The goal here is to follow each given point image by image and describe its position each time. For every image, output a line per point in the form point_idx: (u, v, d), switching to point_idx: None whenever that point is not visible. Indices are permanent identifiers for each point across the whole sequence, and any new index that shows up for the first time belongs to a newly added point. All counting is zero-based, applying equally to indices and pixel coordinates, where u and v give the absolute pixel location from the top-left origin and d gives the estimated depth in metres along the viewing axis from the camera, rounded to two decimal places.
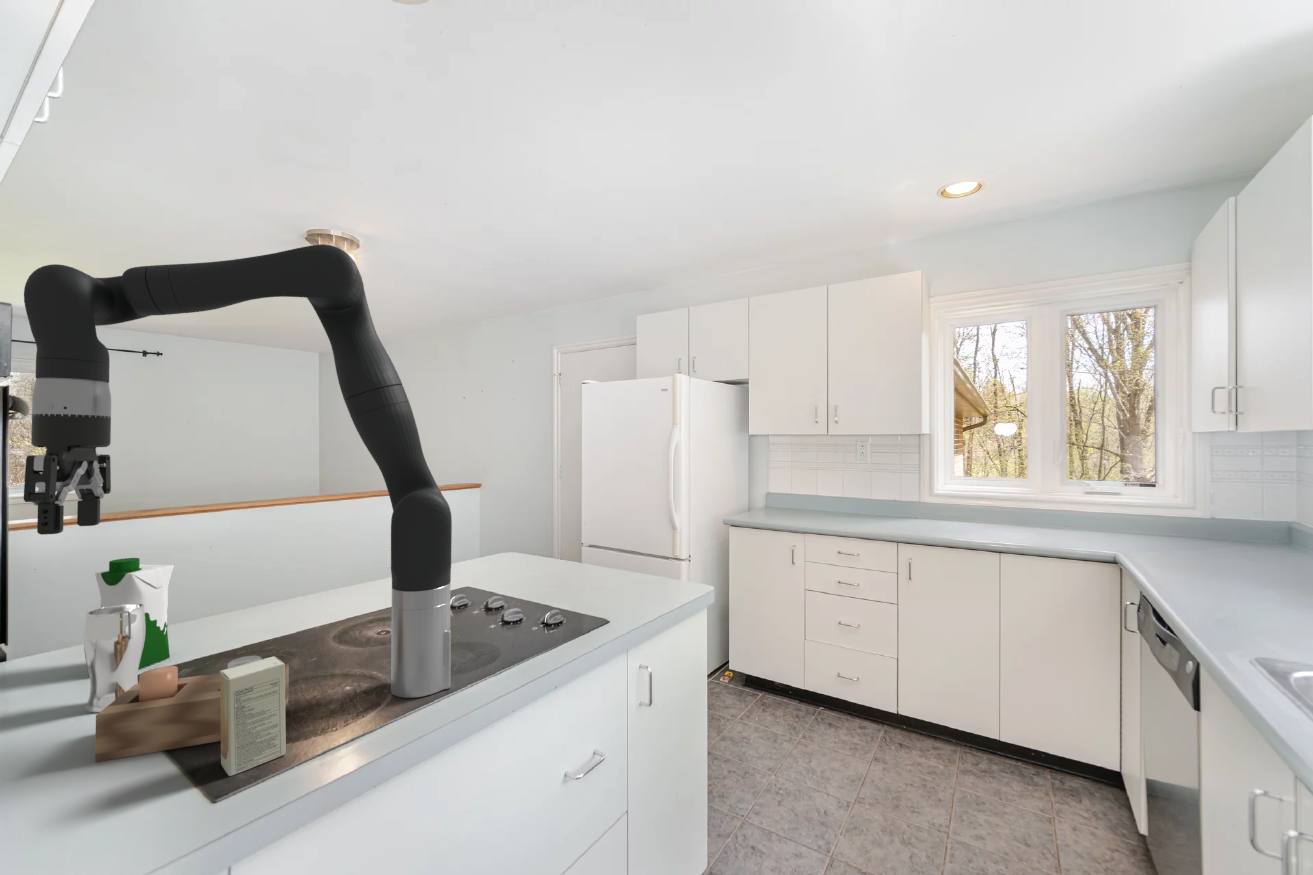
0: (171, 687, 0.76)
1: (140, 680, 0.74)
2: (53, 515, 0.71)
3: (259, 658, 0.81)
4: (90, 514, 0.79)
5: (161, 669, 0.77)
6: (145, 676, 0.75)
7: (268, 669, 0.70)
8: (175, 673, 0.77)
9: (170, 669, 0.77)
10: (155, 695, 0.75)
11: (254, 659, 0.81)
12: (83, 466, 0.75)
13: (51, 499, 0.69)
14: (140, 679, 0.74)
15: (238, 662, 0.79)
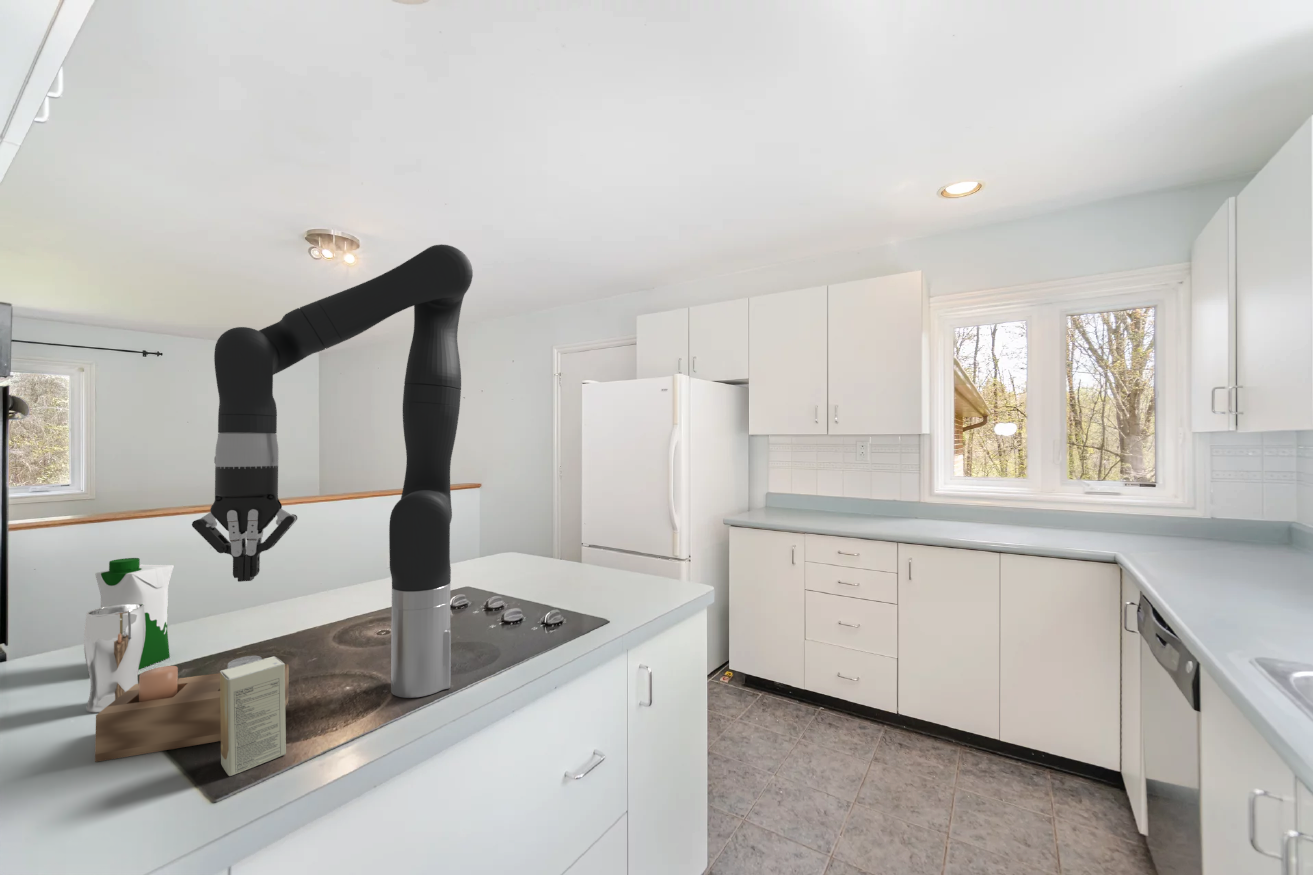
0: (171, 687, 0.76)
1: (140, 680, 0.74)
2: None
3: (259, 658, 0.81)
4: None
5: (161, 669, 0.77)
6: (145, 676, 0.75)
7: (268, 669, 0.70)
8: (175, 673, 0.77)
9: (170, 669, 0.77)
10: (155, 695, 0.75)
11: (254, 659, 0.81)
12: None
13: None
14: (140, 679, 0.74)
15: (238, 662, 0.79)
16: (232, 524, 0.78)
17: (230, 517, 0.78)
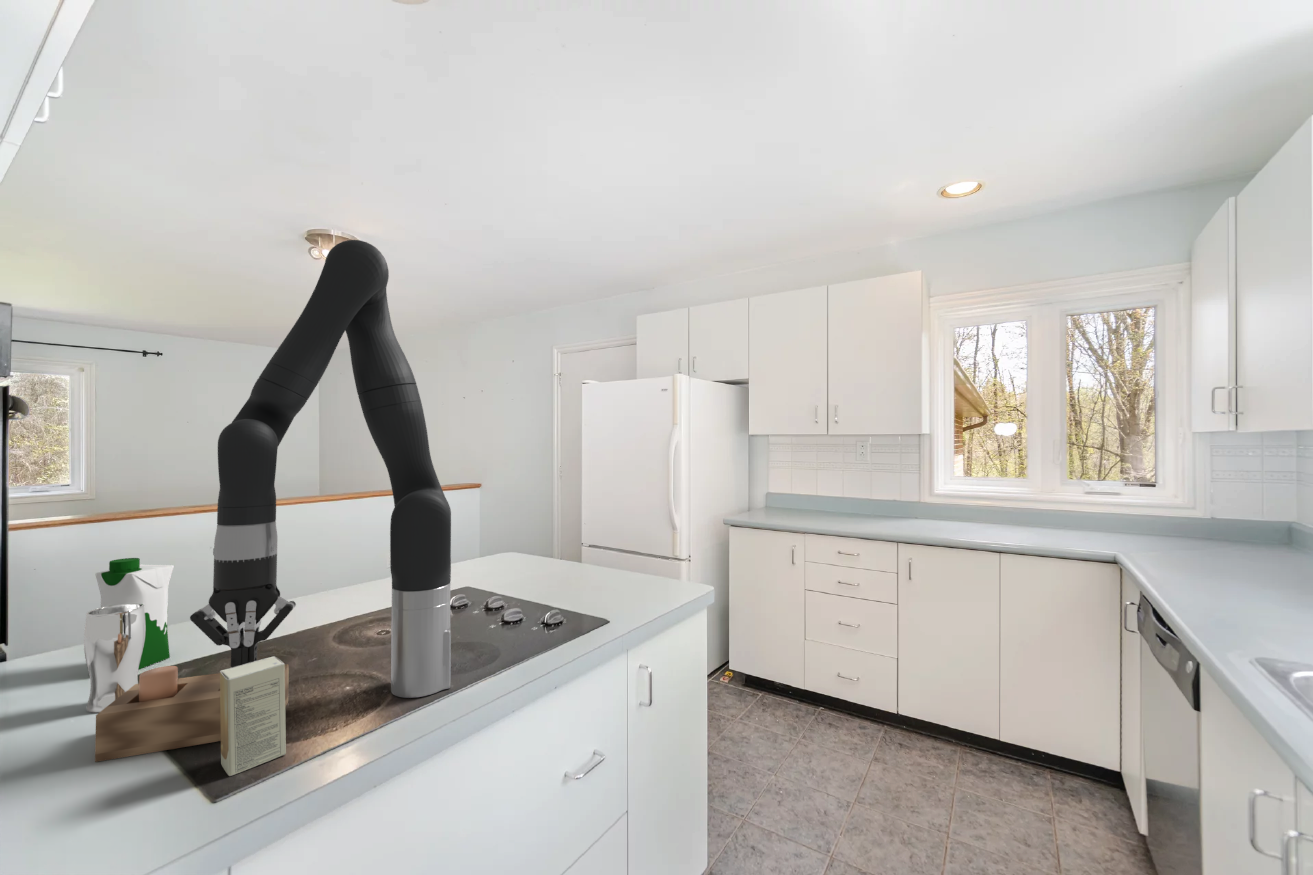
0: (171, 687, 0.76)
1: (140, 680, 0.74)
2: (256, 650, 0.81)
3: None
4: None
5: (161, 669, 0.77)
6: (145, 676, 0.75)
7: (268, 669, 0.70)
8: (175, 673, 0.77)
9: (170, 669, 0.77)
10: (155, 695, 0.75)
11: None
12: None
13: None
14: (140, 679, 0.74)
15: None
16: (230, 617, 0.78)
17: (228, 609, 0.78)
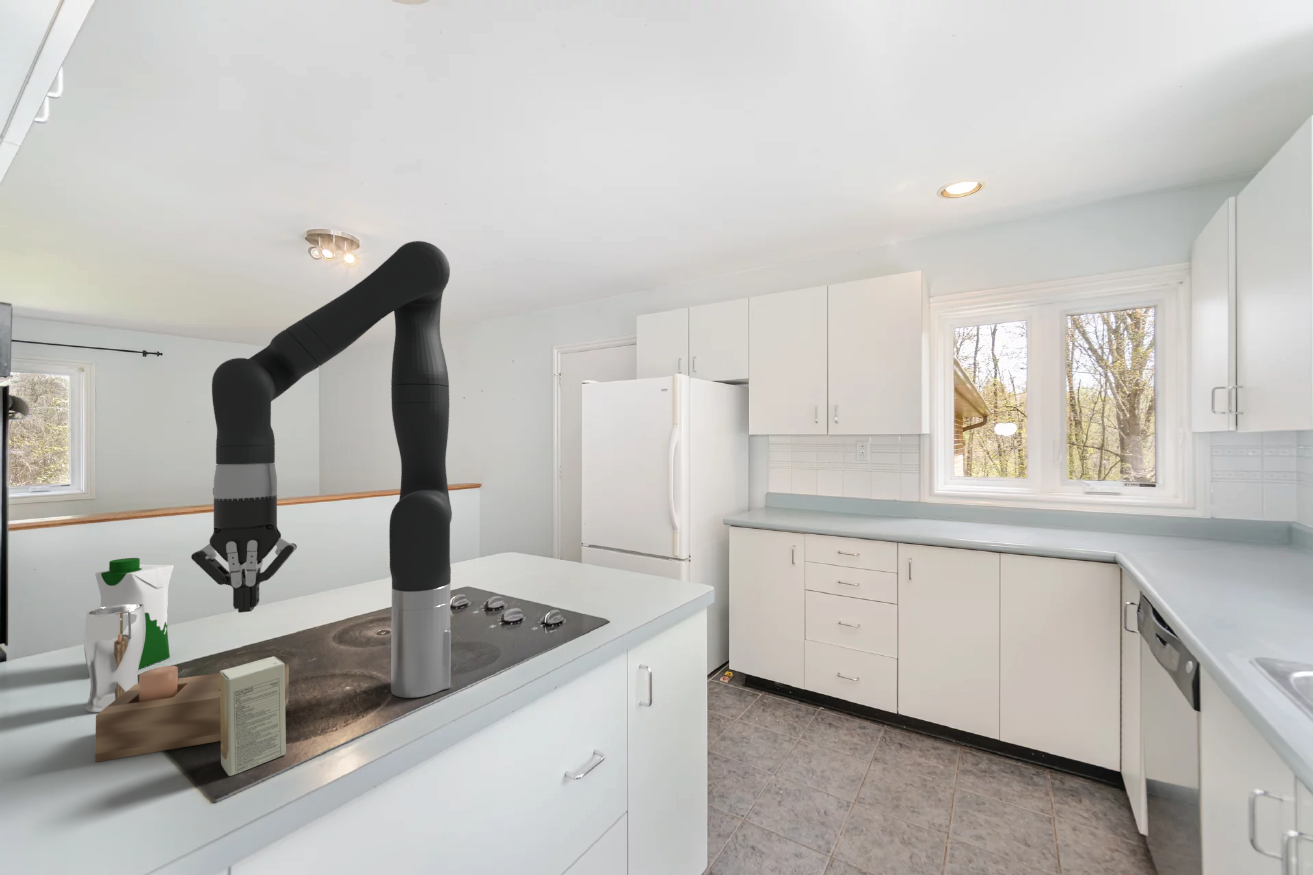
0: (171, 687, 0.76)
1: (140, 680, 0.74)
2: (258, 591, 0.81)
3: None
4: None
5: (161, 669, 0.77)
6: (145, 676, 0.75)
7: (268, 669, 0.70)
8: (175, 673, 0.77)
9: (170, 669, 0.77)
10: (155, 695, 0.75)
11: None
12: None
13: None
14: (140, 679, 0.74)
15: None
16: (231, 556, 0.78)
17: (229, 548, 0.78)
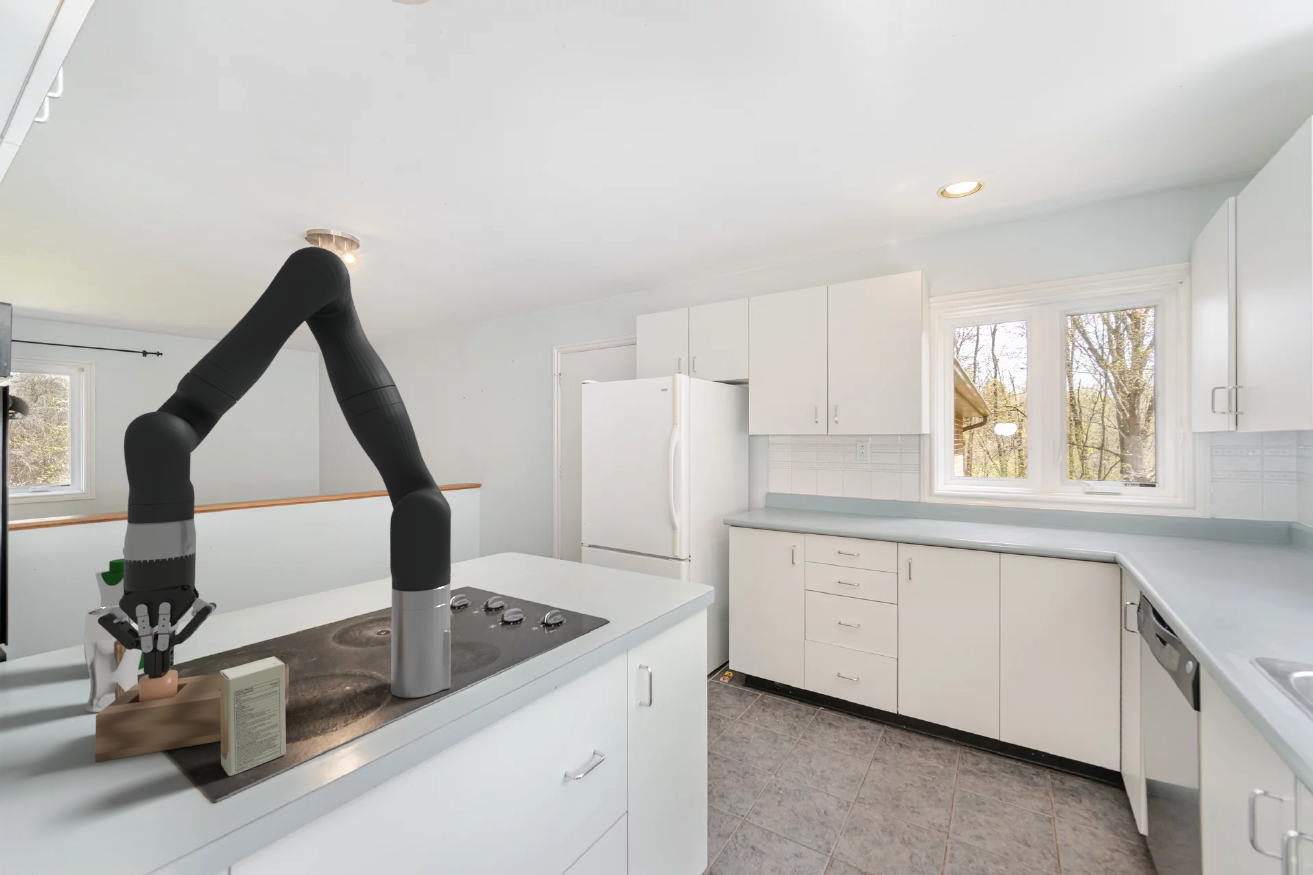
0: (171, 691, 0.76)
1: (140, 684, 0.74)
2: (172, 654, 0.77)
3: None
4: None
5: None
6: (145, 680, 0.75)
7: (268, 669, 0.70)
8: (175, 677, 0.77)
9: (170, 673, 0.77)
10: (155, 699, 0.75)
11: None
12: None
13: None
14: (140, 683, 0.74)
15: None
16: (142, 619, 0.74)
17: (139, 612, 0.74)
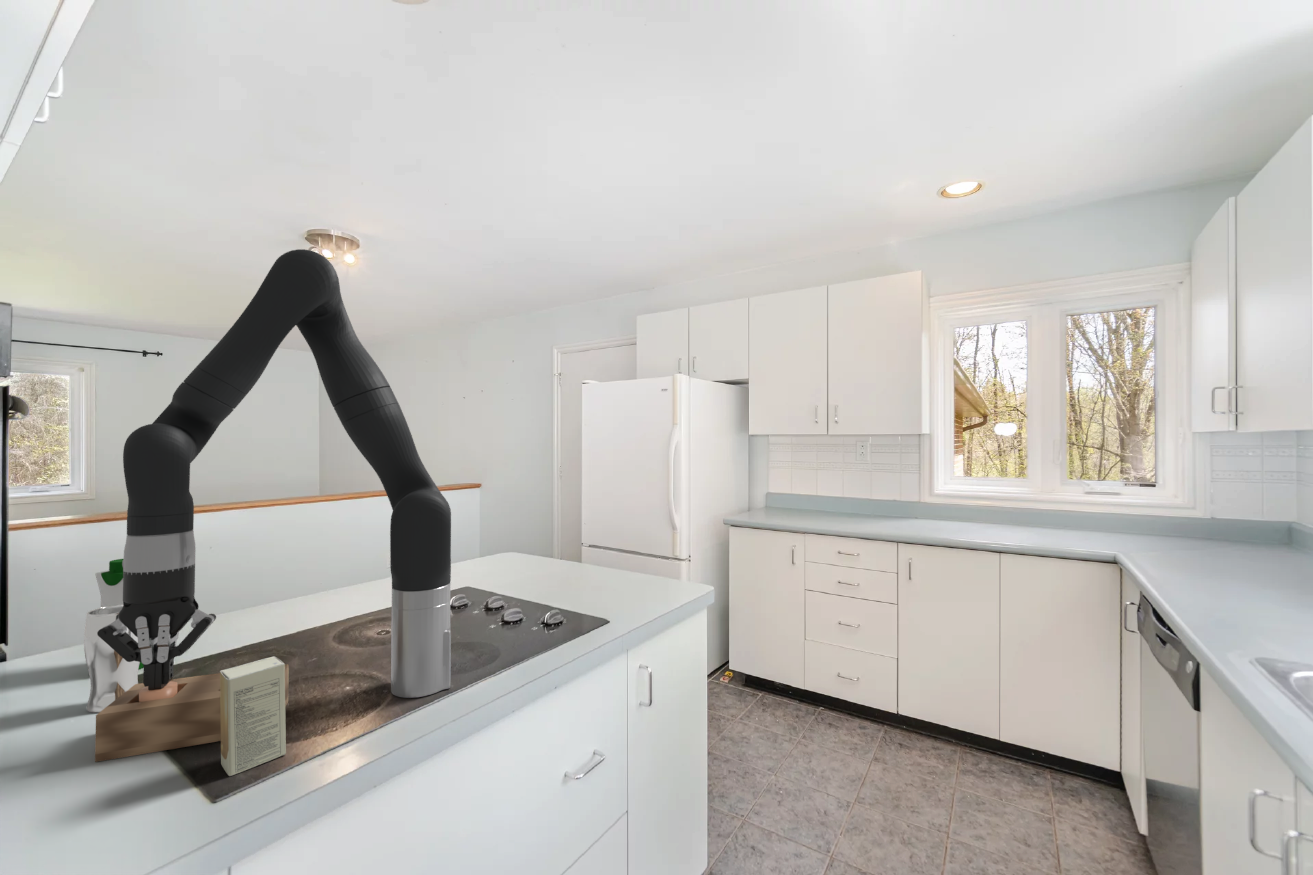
0: None
1: (140, 696, 0.74)
2: None
3: None
4: None
5: None
6: (145, 692, 0.75)
7: (268, 669, 0.70)
8: (175, 689, 0.77)
9: (170, 685, 0.77)
10: None
11: None
12: None
13: None
14: (139, 695, 0.74)
15: None
16: (141, 631, 0.74)
17: (139, 624, 0.74)
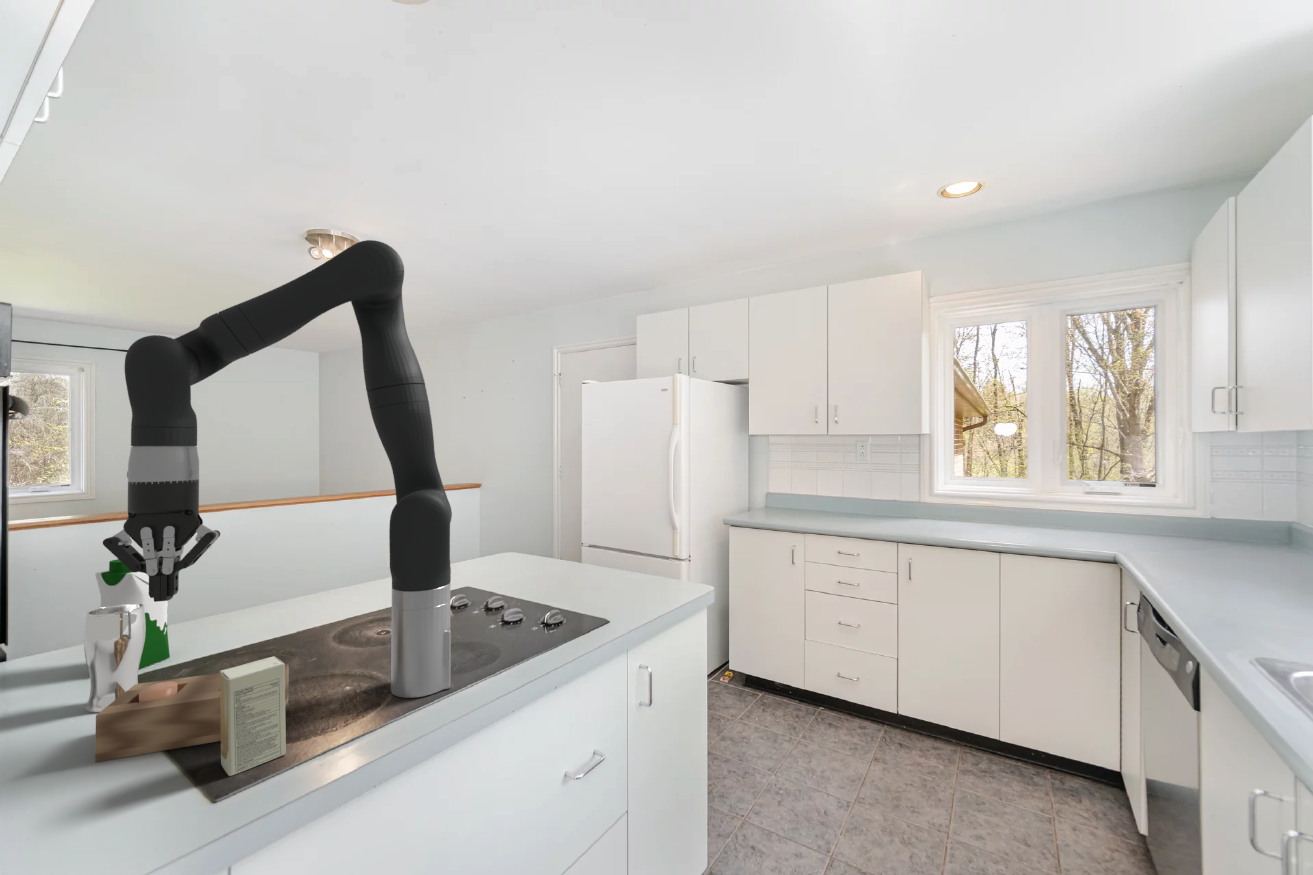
0: None
1: (140, 696, 0.74)
2: (177, 580, 0.78)
3: None
4: None
5: (160, 685, 0.77)
6: (145, 692, 0.75)
7: (268, 669, 0.70)
8: (175, 689, 0.77)
9: (170, 685, 0.77)
10: None
11: None
12: None
13: None
14: (139, 695, 0.74)
15: None
16: (146, 542, 0.75)
17: (144, 534, 0.75)
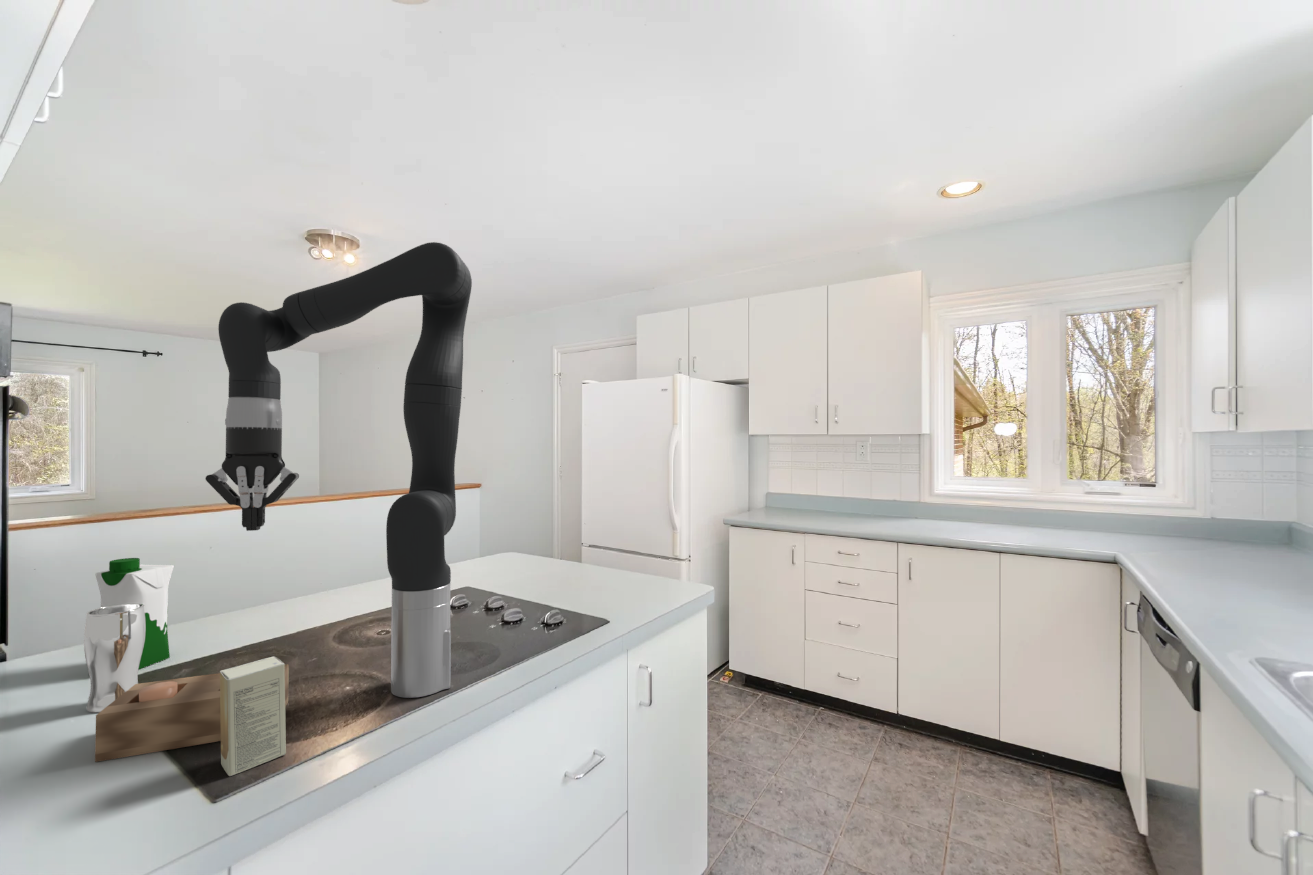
0: None
1: (140, 696, 0.74)
2: None
3: None
4: None
5: (160, 685, 0.77)
6: (145, 692, 0.75)
7: (268, 669, 0.70)
8: (175, 689, 0.77)
9: (170, 685, 0.77)
10: None
11: None
12: None
13: None
14: (139, 695, 0.74)
15: None
16: (241, 479, 0.88)
17: (239, 472, 0.88)
